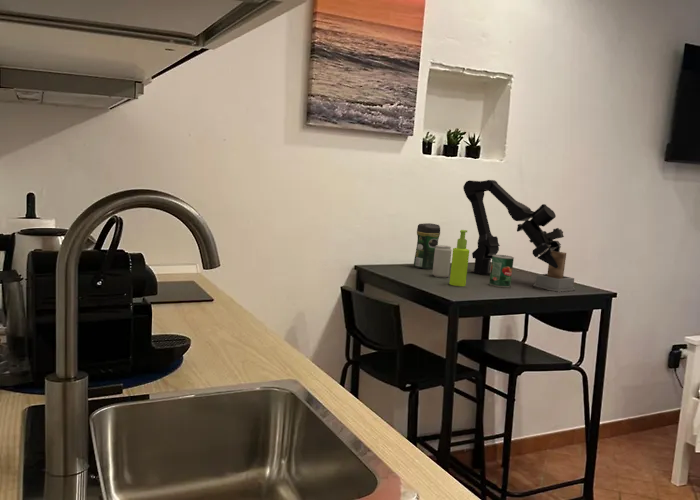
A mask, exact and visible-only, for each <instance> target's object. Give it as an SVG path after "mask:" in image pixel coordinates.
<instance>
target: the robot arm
mask: <svg viewBox="0 0 700 500" xmlns="http://www.w3.org/2000/svg"><path fill="white" fill-rule="evenodd" d="M463 192H464V194H465V197H466V198H467V200H468V201H469V202H470V204H471V208H472V212H473V216H474V220H475V224H476V228H477V233H478V240H477V248H476V249H475V250H474V251H473V252H471V256H472V259H474V266H473V267H474V268H473V270H471V271H470V273H474V274H477V275H483V276H485V275H486V276H487V275H490V272H491V264H492V255H498V252H499V251H500V246H501V245H500V243H499V238H498V236H494V235H493V234H492V232H491V228H490V224H489V220H488V216H487V212H486V208H485V204H484V198H485V192H490V193H491V195H493V197H495V198H496V200H498V202H499V203H501V204H502V205H503V206H504V207H505V208H506V210H507V212H508V214H509V216H510V218H512V220H513V221H514V222H515V221H516V222H522V223H519V224H517V227H516V232H521V231H523V232H524V234H525V235H526V236H527V237H528V239H529V243H532V244H533V246H535V248H534V249H532V253H531V254H532V255H533V256H534V258H537V259H538V260H540V261H542V262H545V264H547V265H548V266H549V265H551V266H553V267H554V268H557V267H558V265H557V263H556V261H555V259H554V257H553V256H552V254H551V253H552V251H557V252H561V247H562V246H561V245H562V244H561V243H560V242H559V240H557V239H561V238H564V237H565V236H564V231H563V230H562V228H559V227H557V228H553V229H552V230H553V231H550V232H547V231H545V230H543V229H542V228H541V227H545V226H547V225H548V224H549V223H551V222H552V221H553V220H554V219H555V218H556V213H555V211H554V210H553V209H552V208H550V207H549V206H547V204H541V205H540V206H539V207H538V208H537V209H536V210H535V211H534V210H533V211H532V209H531V208H530V207H528V206H527V205H525V204H524V203H522V202H520V201H518V200H516V199H515V198H514V197H513V196H511V194H510V193H509V192H508V191H507V190H505V188H503V187H502V186H501V184H499V183H498V181H496V180H494V179H487V180H466V182H465V183H464V185H463Z"/></svg>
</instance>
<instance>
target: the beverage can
mask: <svg viewBox="0 0 700 500" xmlns="http://www.w3.org/2000/svg"><path fill="white" fill-rule="evenodd" d="M452 252H453V249H452V246H450V245H445V244H444V245H443V244H438V245H436V248H435V253H434V263H433V269H432V275H433V277H437V278H447V277H450V271H451V262H452Z"/></svg>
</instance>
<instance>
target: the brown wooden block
mask: <svg viewBox="0 0 700 500" xmlns="http://www.w3.org/2000/svg"><path fill="white" fill-rule="evenodd" d="M551 254H552V256H553V257H554V259H555V261H556V263H557V265H558V267H557V268H554V267H553V266H551V265H549V264H548V267H547V273H546V274H547V276H548V277H552V278H557V279H563V276H565V267H566V261H567V260H566V258H567V252H564V251H563V252H562V251H560V252H557V251H552V253H551Z"/></svg>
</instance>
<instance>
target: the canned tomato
mask: <svg viewBox="0 0 700 500" xmlns="http://www.w3.org/2000/svg"><path fill="white" fill-rule="evenodd" d="M514 259H515V257H513V256H511V255H506V254H505V255H504V254H496V255H492V259H491V266H490V274H489V281H488V284H489V286H493V287H498V288H510V287H511V283H512V275H513V267H514V266H513V265H514Z"/></svg>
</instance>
